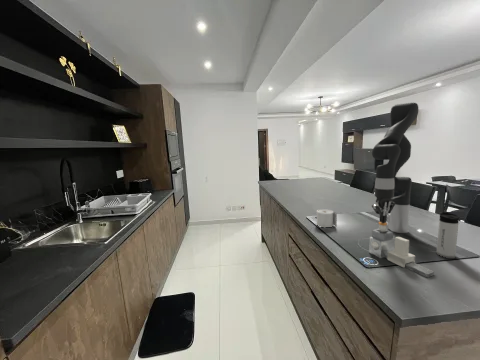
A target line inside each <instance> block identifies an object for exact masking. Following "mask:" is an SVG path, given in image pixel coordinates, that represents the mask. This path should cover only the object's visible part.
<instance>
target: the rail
mask: <svg viewBox="0 0 480 360" xmlns="http://www.w3.org/2000/svg"><path fill="white" fill-rule="evenodd" d="M383 258H385V259H387V260H388V253H386V254H384V257H383ZM404 268H406V269H408V270H410V271H411V272H412V271H413V272H414V273H416V274H419V275H421V276H423V277H424V278H430V277H433V276H435V274H436V273H435V271H434V270H431V269H429V268H427V267H425V266H423V265H421V264H419V263H416V262H415V263H414V262H409V263H406V264H405V267H404Z"/></svg>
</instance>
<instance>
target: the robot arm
mask: <svg viewBox="0 0 480 360" xmlns="http://www.w3.org/2000/svg"><path fill="white" fill-rule="evenodd" d="M389 114H390V115H389V117H390V118H389V119H390V120H389V121H390V128H389V129H388V130H387V131H386V133H385V134H384V136H383V138H382V139H381V140H380V141H379V142H377V143H376V144H375V145H374V147H373V149H372V150H371V151H372V152H371V155H372V157H373V159H374V160H378V161H379V160H380V161H385V160H386V161H388V162H387V163H385V164H380V165H377V166H376V169H375V182H374V197H375V198H376V200H375V204H372V205H371V208H372V209H373V210H374V212H375V214H377V215H379V222H382V223H387V230H389V231H391V232H393V233H397V234H408V233H409V224H410V223H409V221H410V208H411V207H410V206H411V193H412V192H411V191H412V185H413V180H412V177H409V176H397V174H398V172H399V170H400V169H401V168H402V167H403V166H404V165H406V163H407V162H408V161H409V159H410V157H411V153H412V152H411V151H412V143H411V142H410V140H409V139H408V138H407V136H406V135H405V133H407V131H408V129H409V128H410V127H411V126H412V125H413V123H414V122H415V120H416V118H417V117H418V114H419V105H418V103H416V102H405V103H397V104H393V105H392V106H391V109H390V113H389ZM395 193H402V194H400V195H398V196H395Z"/></svg>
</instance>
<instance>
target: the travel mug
mask: <svg viewBox="0 0 480 360" xmlns="http://www.w3.org/2000/svg"><path fill="white" fill-rule="evenodd" d="M459 220H460V216H458V215H457V214H454V213H450V212H447V211H442V212H440V213H439V220H438V232H437V242H436V243H437V244H436V254H437V255H438V256H439V255H440V257H442V256H443V257H442V258H445V257H447V258H446V259H455V258H456V253H457V252H456V251H457V242H458V241H457V240H458V233H459V232H458V231H459V222H460V221H459Z"/></svg>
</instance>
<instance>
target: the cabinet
mask: <svg viewBox="0 0 480 360" xmlns="http://www.w3.org/2000/svg"><path fill="white" fill-rule="evenodd" d="M368 245H369V246H368V247H369V249H368V253H370V254H371V255H373V256H376V257H377V258H379V259H382V258H385V257H384V254H386V253H388V252H389V251H392V250H394V249H395V237H394V232H393V231H391V230H389V229H386V233H381V232H379V228H375V229H372V230H371V236H369V244H368Z"/></svg>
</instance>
